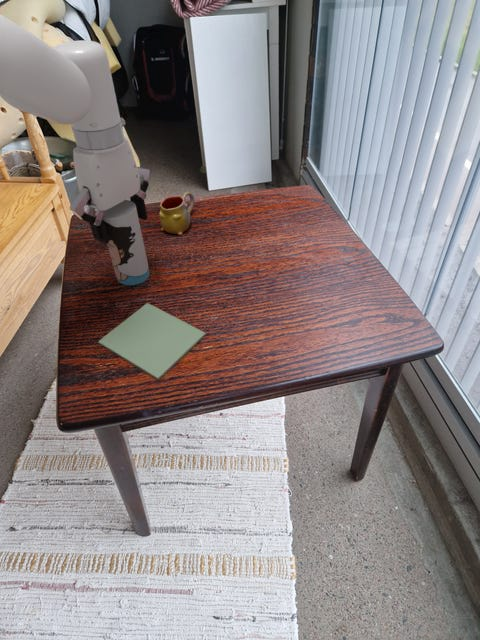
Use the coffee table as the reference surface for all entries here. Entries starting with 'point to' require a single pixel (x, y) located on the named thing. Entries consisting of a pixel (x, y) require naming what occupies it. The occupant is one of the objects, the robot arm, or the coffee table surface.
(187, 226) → the mug
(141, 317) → the mat
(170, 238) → the coffee table surface
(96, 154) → the robot arm
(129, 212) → the cup
